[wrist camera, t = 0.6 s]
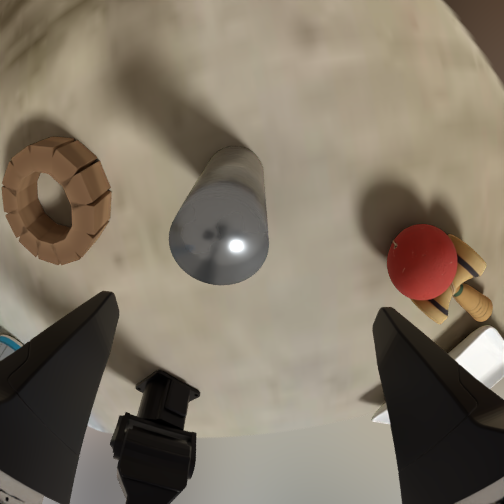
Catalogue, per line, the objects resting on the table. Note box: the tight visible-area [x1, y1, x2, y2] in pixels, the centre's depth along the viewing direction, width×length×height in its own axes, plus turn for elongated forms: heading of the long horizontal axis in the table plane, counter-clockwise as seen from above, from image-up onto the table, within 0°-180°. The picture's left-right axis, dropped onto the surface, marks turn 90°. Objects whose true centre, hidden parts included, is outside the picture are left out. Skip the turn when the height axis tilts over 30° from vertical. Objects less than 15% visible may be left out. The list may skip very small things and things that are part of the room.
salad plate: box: [371, 325, 504, 424], centre depth 34 cm, size 21×21×3 cm
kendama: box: [387, 224, 493, 324], centre depth 23 cm, size 8×6×18 cm
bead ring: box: [2, 136, 111, 265], centre depth 20 cm, size 10×10×3 cm
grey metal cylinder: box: [169, 146, 269, 285], centre depth 16 cm, size 4×4×10 cm
